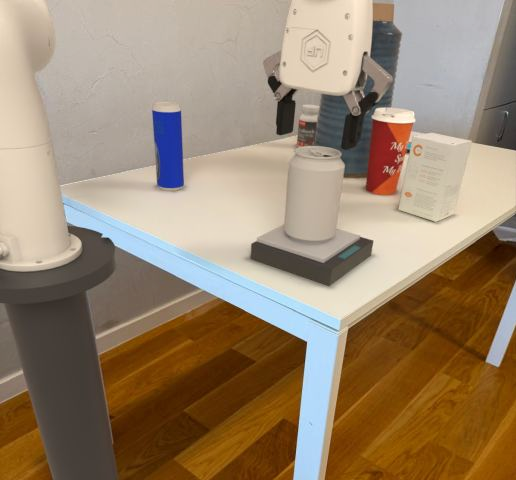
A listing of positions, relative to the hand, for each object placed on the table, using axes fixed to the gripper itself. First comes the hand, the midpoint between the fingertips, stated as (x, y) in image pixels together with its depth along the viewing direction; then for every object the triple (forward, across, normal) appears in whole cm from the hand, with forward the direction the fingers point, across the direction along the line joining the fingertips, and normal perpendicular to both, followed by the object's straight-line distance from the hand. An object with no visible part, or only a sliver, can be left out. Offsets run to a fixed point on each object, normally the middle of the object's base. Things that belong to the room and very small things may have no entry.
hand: (315, 140), depth 65 cm
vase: (+16, -18, +49) cm, 54 cm away
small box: (+16, +8, +32) cm, 36 cm away
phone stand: (+16, -16, +74) cm, 77 cm away
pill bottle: (+16, -34, +60) cm, 71 cm away
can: (+13, +1, 0) cm, 13 cm away
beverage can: (+17, -36, +11) cm, 42 cm away
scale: (+16, +2, +1) cm, 16 cm away
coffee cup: (+16, -4, +39) cm, 42 cm away
